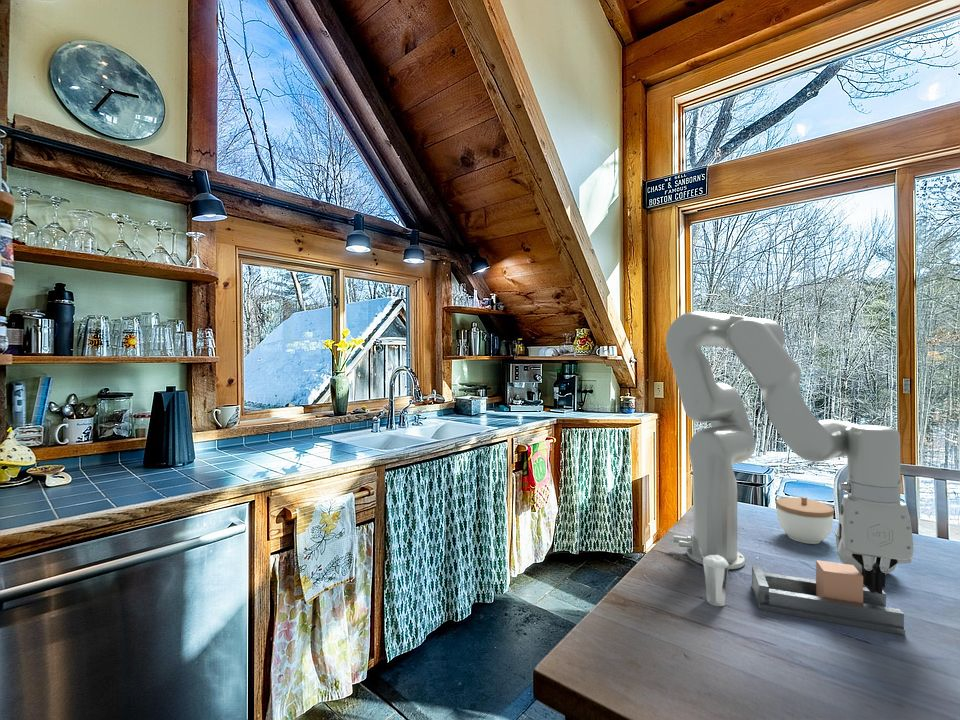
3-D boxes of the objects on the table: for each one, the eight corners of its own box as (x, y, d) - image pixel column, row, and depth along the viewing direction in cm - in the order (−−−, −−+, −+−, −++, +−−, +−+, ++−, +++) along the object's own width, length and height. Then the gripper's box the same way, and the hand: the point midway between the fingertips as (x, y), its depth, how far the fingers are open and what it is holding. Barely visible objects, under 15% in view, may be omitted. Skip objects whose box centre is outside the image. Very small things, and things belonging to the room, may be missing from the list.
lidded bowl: (767, 528, 130) (767, 489, 130) (816, 530, 129) (816, 491, 129) (791, 547, 118) (790, 504, 118) (845, 549, 116) (845, 506, 116)
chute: (759, 609, 89) (759, 586, 89) (751, 585, 98) (751, 564, 98) (905, 635, 81) (905, 609, 81) (881, 606, 90) (881, 583, 90)
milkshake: (703, 592, 96) (703, 544, 96) (731, 602, 92) (731, 552, 92) (695, 600, 93) (695, 551, 92) (724, 611, 89) (724, 559, 89)
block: (823, 607, 87) (823, 570, 87) (816, 595, 92) (816, 560, 92) (863, 614, 85) (863, 576, 85) (853, 601, 90) (853, 565, 90)
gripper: (831, 493, 86) (831, 592, 86) (936, 502, 80) (935, 608, 80) (819, 483, 93) (819, 574, 93) (914, 490, 87) (914, 587, 87)
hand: (873, 589), depth 86 cm, fingers closed
